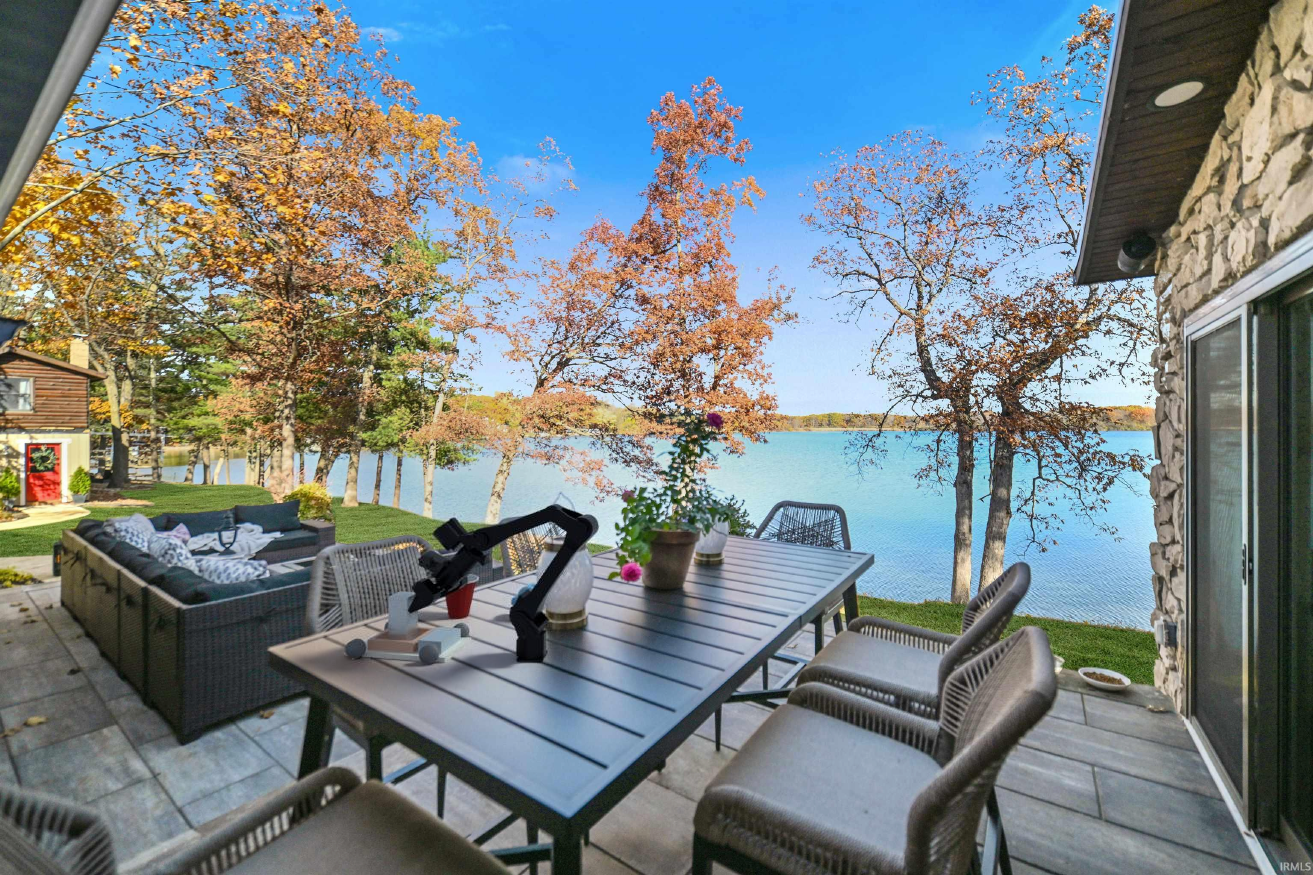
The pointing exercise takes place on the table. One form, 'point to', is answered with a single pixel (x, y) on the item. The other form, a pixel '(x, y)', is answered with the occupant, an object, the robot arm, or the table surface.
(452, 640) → the chassis
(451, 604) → the plastic cup
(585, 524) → the robot arm
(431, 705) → the table surface
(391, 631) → the blue-grey rectangular box
